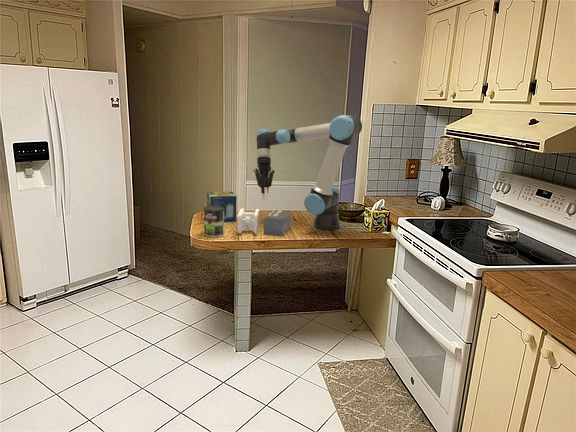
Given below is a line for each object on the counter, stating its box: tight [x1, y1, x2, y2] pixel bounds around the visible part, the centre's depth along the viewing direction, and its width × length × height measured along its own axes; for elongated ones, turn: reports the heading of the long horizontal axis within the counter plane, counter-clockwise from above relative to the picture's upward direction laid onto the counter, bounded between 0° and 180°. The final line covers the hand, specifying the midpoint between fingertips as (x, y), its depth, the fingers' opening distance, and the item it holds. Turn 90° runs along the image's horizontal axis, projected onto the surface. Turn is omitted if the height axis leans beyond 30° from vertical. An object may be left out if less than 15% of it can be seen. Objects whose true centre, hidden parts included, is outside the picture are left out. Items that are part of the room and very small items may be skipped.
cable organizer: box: [236, 207, 260, 235], centre depth 235 cm, size 15×11×12 cm
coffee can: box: [203, 205, 225, 238], centre depth 227 cm, size 10×10×14 cm
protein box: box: [206, 191, 238, 223], centre depth 254 cm, size 10×15×16 cm
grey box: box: [263, 209, 292, 237], centre depth 239 cm, size 10×18×10 cm, turn 166°
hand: (265, 199), depth 243 cm, fingers closed
